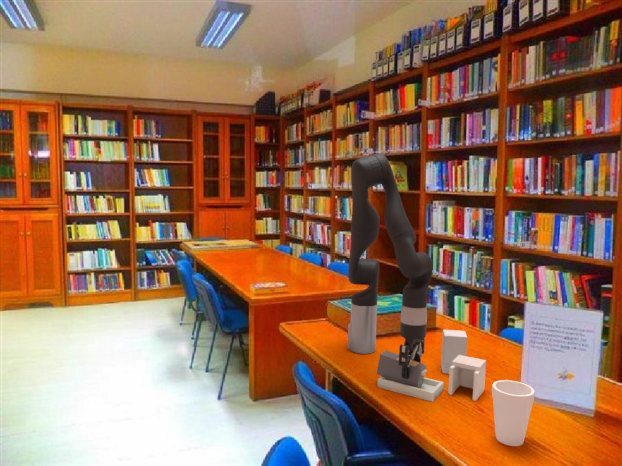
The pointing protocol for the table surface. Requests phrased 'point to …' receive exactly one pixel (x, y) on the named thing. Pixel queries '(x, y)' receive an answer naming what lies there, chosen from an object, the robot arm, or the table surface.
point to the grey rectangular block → (400, 370)
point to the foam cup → (511, 410)
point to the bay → (467, 375)
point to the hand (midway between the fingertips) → (411, 373)
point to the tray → (414, 388)
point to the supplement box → (452, 347)
